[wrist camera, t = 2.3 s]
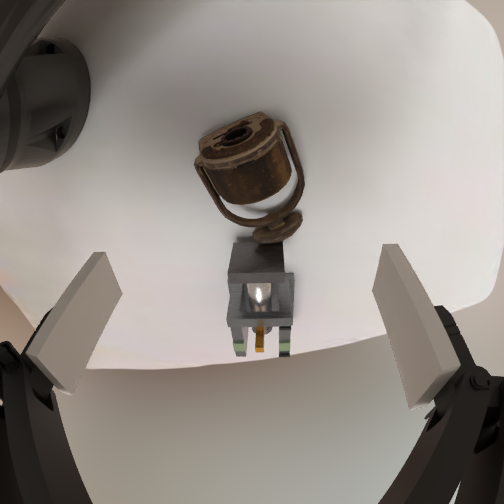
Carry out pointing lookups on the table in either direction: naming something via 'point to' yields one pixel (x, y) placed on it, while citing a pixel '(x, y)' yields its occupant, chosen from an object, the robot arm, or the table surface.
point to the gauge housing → (261, 314)
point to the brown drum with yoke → (252, 172)
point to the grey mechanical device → (257, 276)
